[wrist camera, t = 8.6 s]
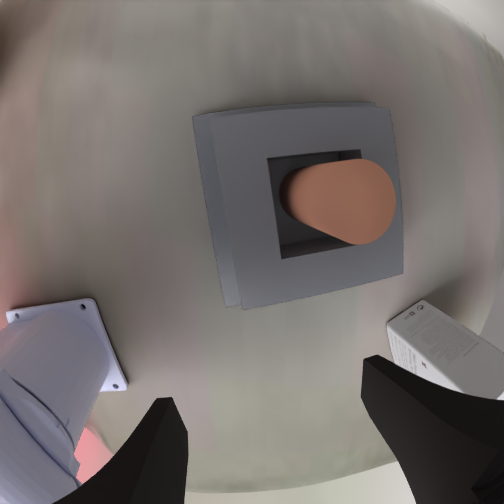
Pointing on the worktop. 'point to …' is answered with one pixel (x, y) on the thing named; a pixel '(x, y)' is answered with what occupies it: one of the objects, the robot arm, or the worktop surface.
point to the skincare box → (446, 352)
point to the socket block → (268, 203)
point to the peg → (341, 199)
